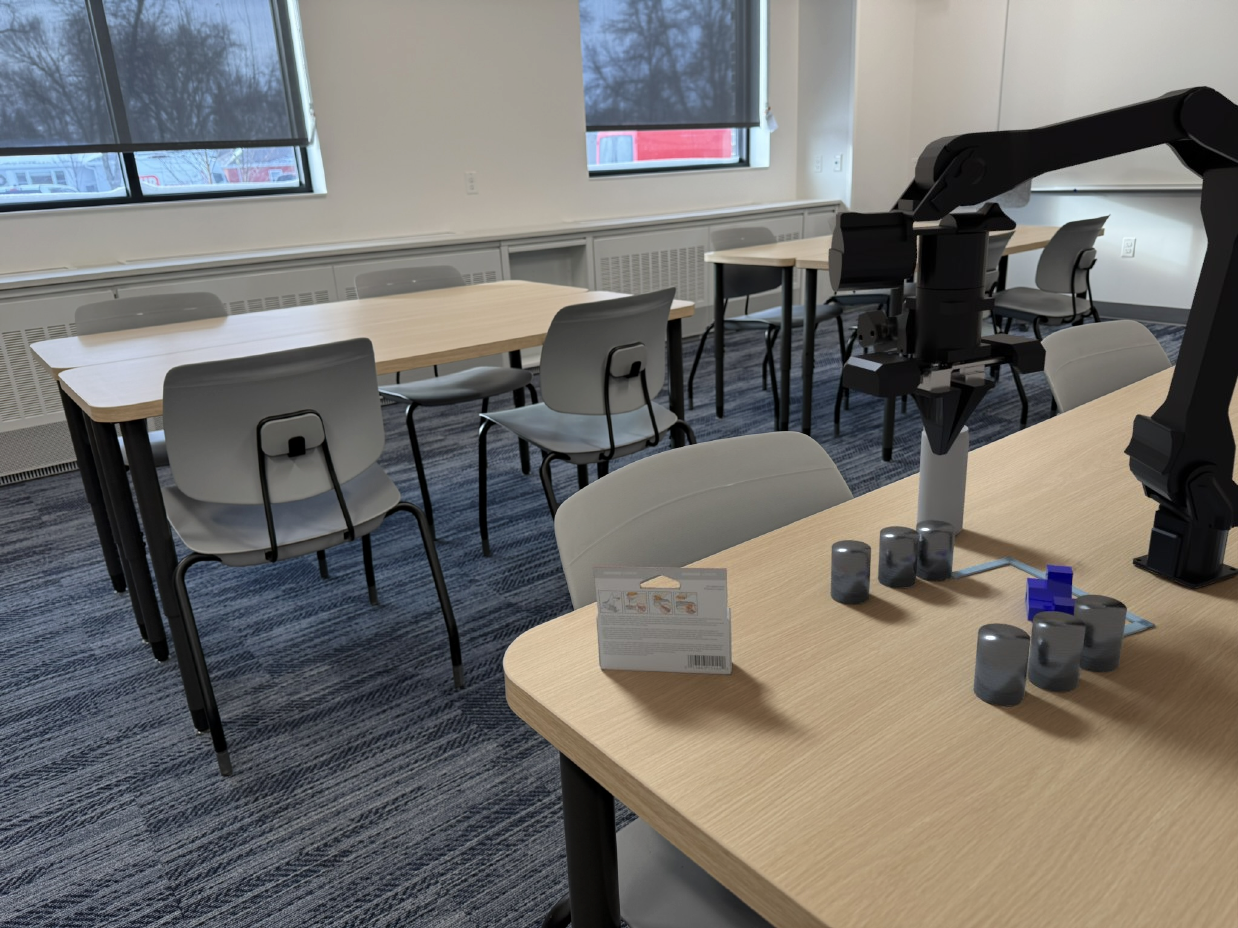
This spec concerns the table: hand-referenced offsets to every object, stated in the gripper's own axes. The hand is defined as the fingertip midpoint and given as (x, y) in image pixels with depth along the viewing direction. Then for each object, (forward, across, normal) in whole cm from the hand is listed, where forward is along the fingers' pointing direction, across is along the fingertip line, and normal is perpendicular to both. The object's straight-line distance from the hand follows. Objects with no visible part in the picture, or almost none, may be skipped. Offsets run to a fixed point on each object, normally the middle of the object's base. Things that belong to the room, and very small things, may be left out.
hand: (939, 454), depth 80 cm
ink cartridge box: (+13, +30, +2) cm, 33 cm away
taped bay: (+13, -6, +8) cm, 16 cm away
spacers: (+13, +4, +8) cm, 16 cm away
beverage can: (+13, -9, -9) cm, 18 cm away
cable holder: (+13, -3, +12) cm, 18 cm away
